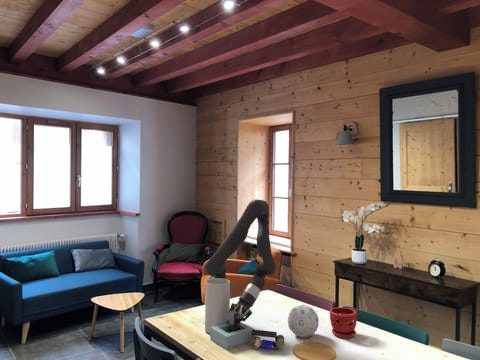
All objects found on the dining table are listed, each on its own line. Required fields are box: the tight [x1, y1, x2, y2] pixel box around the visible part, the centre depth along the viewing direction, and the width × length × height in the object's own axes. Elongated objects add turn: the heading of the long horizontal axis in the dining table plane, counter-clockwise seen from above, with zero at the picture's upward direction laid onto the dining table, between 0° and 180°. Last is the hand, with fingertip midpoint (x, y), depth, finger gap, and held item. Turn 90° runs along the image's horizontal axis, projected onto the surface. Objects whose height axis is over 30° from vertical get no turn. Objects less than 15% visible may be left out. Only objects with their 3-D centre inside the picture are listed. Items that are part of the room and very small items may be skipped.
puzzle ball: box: [287, 304, 320, 338], centre depth 186 cm, size 15×15×15 cm
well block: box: [209, 321, 256, 351], centre depth 180 cm, size 14×16×6 cm
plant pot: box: [329, 306, 358, 339], centre depth 189 cm, size 13×13×12 cm
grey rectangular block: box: [227, 310, 240, 333], centre depth 180 cm, size 6×4×11 cm, turn 131°
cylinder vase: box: [204, 278, 231, 334], centre depth 193 cm, size 12×12×25 cm
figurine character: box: [250, 328, 285, 351], centre depth 172 cm, size 7×8×15 cm
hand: (231, 325), depth 179 cm, fingers closed on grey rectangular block, 4 cm apart
